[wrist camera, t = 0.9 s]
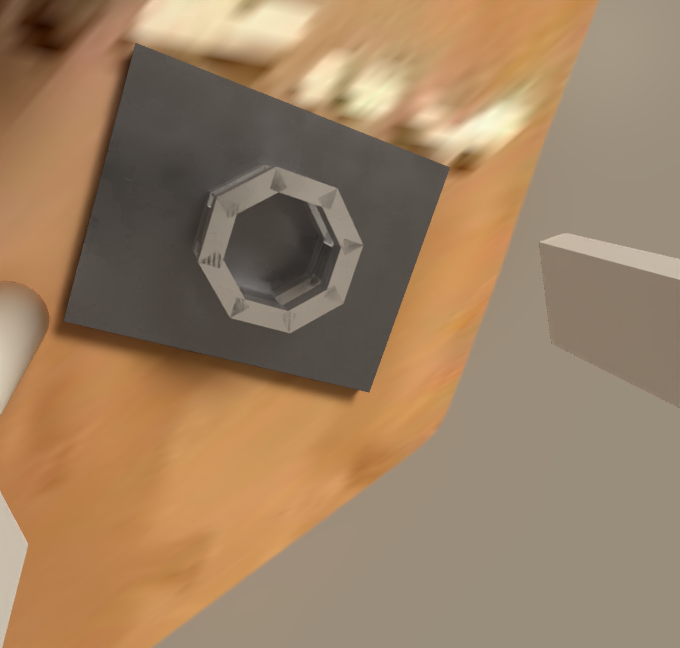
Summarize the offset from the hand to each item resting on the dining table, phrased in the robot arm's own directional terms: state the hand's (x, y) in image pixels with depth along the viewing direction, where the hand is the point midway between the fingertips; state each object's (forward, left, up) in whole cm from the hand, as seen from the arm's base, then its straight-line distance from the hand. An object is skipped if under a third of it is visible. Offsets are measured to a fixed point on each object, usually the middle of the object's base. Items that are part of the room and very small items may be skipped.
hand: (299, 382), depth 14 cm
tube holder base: (+4, +1, -26) cm, 27 cm away
